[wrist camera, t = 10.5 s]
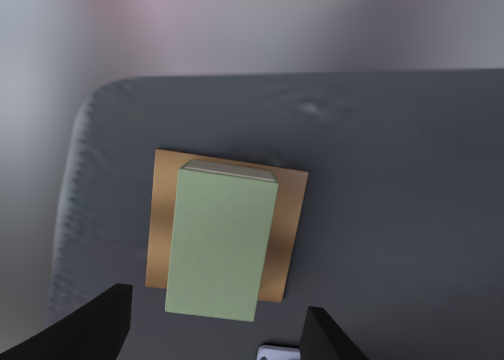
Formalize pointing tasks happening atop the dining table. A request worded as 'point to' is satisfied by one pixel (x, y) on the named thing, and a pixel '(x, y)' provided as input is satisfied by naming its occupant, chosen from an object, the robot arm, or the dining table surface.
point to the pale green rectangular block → (219, 239)
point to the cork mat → (280, 233)
